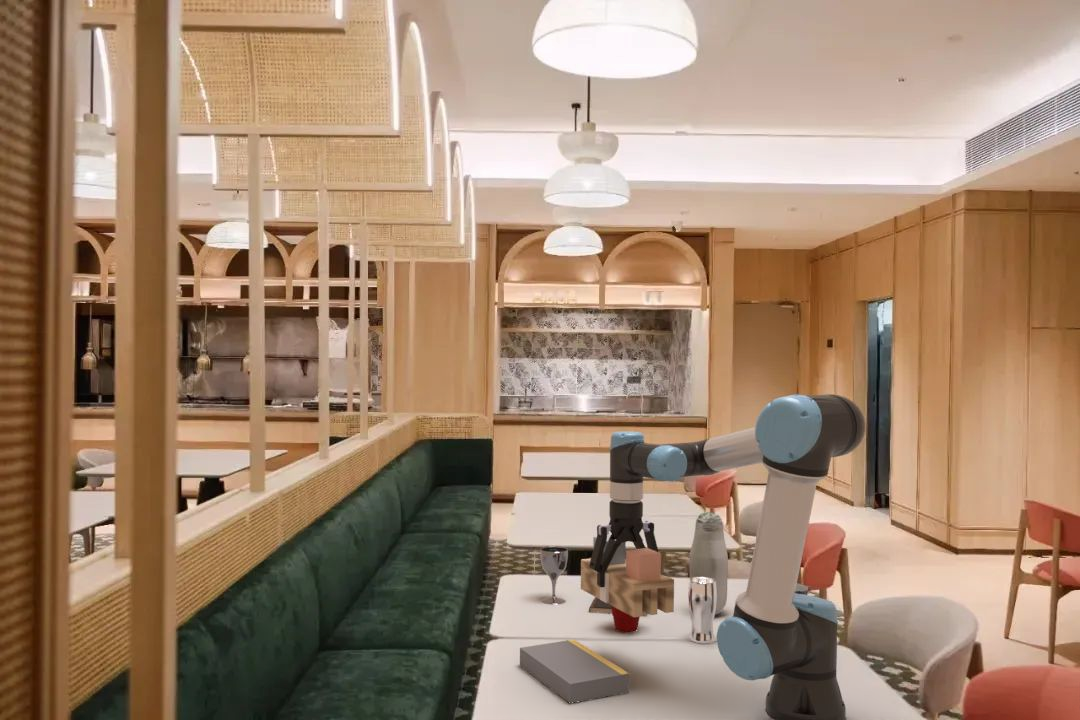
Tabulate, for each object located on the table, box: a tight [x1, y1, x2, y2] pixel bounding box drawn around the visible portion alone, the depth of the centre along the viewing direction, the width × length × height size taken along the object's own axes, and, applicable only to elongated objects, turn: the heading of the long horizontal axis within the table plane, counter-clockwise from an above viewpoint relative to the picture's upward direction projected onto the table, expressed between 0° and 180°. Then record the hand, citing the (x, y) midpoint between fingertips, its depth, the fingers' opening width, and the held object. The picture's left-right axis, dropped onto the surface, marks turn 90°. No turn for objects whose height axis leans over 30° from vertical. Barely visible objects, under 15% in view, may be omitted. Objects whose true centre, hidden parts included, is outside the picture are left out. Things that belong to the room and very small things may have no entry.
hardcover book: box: [588, 596, 647, 617], centre depth 246 cm, size 16×23×2 cm
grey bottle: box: [689, 511, 729, 616], centre depth 236 cm, size 10×10×28 cm
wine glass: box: [539, 545, 569, 605], centre depth 247 cm, size 8×8×15 cm
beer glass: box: [687, 577, 717, 645], centre depth 214 cm, size 7×7×15 cm
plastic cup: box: [611, 605, 641, 633], centre depth 221 cm, size 11×11×12 cm
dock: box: [519, 639, 630, 704], centre depth 187 cm, size 24×15×4 cm, turn 26°
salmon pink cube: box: [625, 547, 662, 581], centre depth 186 cm, size 6×6×6 cm
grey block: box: [592, 535, 627, 565], centre depth 200 cm, size 6×6×6 cm
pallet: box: [580, 557, 675, 618], centre depth 193 cm, size 24×10×7 cm, turn 25°
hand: (624, 598), depth 193 cm, fingers closed on pallet, 10 cm apart
